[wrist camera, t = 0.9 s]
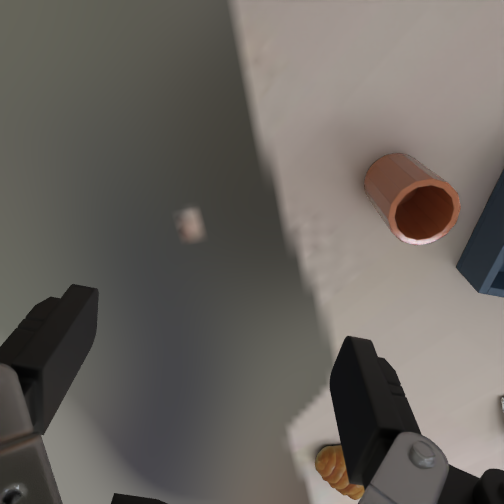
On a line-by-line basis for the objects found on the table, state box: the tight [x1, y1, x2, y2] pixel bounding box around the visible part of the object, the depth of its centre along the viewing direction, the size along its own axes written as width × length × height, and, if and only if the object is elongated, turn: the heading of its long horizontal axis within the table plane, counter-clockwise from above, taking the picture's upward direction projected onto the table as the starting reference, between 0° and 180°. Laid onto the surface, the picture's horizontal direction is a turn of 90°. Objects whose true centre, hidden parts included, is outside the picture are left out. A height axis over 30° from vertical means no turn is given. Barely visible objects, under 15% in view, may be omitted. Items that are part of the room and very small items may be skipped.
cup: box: [364, 153, 461, 245], centre depth 34 cm, size 5×5×8 cm
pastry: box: [315, 445, 365, 500], centre depth 54 cm, size 9×7×4 cm
